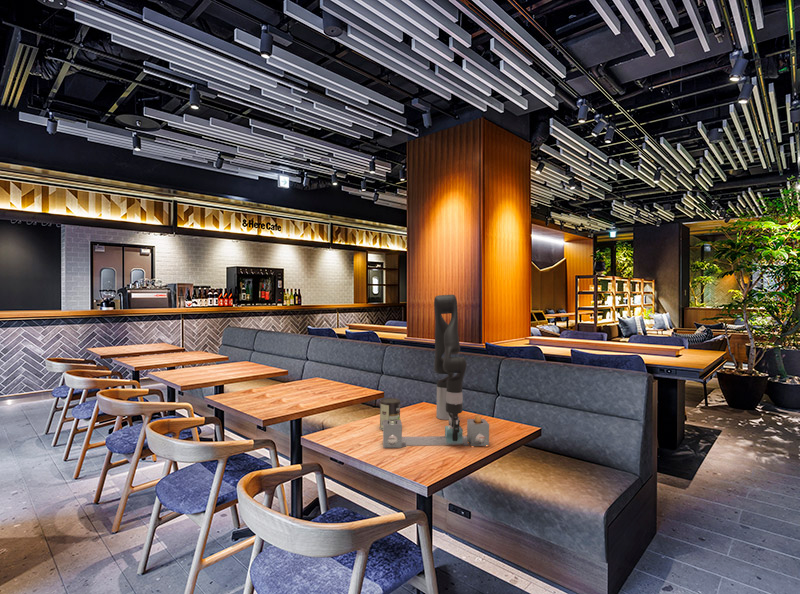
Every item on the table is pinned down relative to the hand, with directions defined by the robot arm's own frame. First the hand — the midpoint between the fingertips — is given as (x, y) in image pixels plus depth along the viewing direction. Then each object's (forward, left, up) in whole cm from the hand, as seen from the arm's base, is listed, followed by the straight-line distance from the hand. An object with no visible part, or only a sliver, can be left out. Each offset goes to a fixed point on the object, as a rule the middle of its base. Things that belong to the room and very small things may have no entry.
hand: (453, 438), depth 188 cm
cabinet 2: (0, +11, -2) cm, 11 cm away
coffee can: (-23, -28, -3) cm, 36 cm away
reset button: (0, +11, +6) cm, 12 cm away
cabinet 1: (0, -28, -2) cm, 28 cm away
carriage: (0, 0, -1) cm, 1 cm away
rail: (0, -9, -2) cm, 9 cm away
